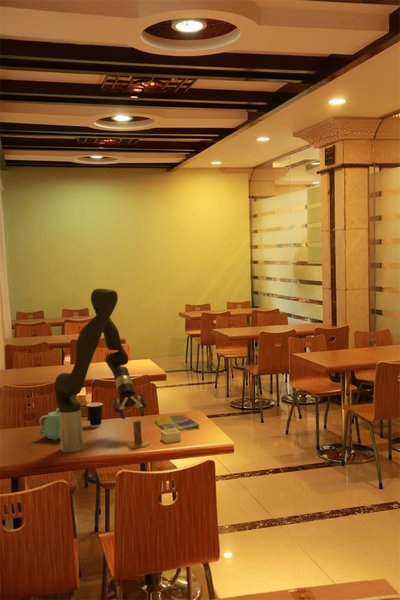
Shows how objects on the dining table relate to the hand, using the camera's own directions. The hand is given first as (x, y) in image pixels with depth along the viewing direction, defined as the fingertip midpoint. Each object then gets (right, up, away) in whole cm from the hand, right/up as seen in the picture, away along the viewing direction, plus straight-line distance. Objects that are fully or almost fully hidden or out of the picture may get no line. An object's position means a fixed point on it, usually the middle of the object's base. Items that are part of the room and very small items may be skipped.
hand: (133, 416), depth 278 cm
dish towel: (+18, -10, +27) cm, 34 cm away
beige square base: (+17, -10, 0) cm, 20 cm away
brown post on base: (+3, -12, -5) cm, 13 cm away
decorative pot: (-35, -13, +16) cm, 41 cm away
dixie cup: (-22, -11, +34) cm, 42 cm away
